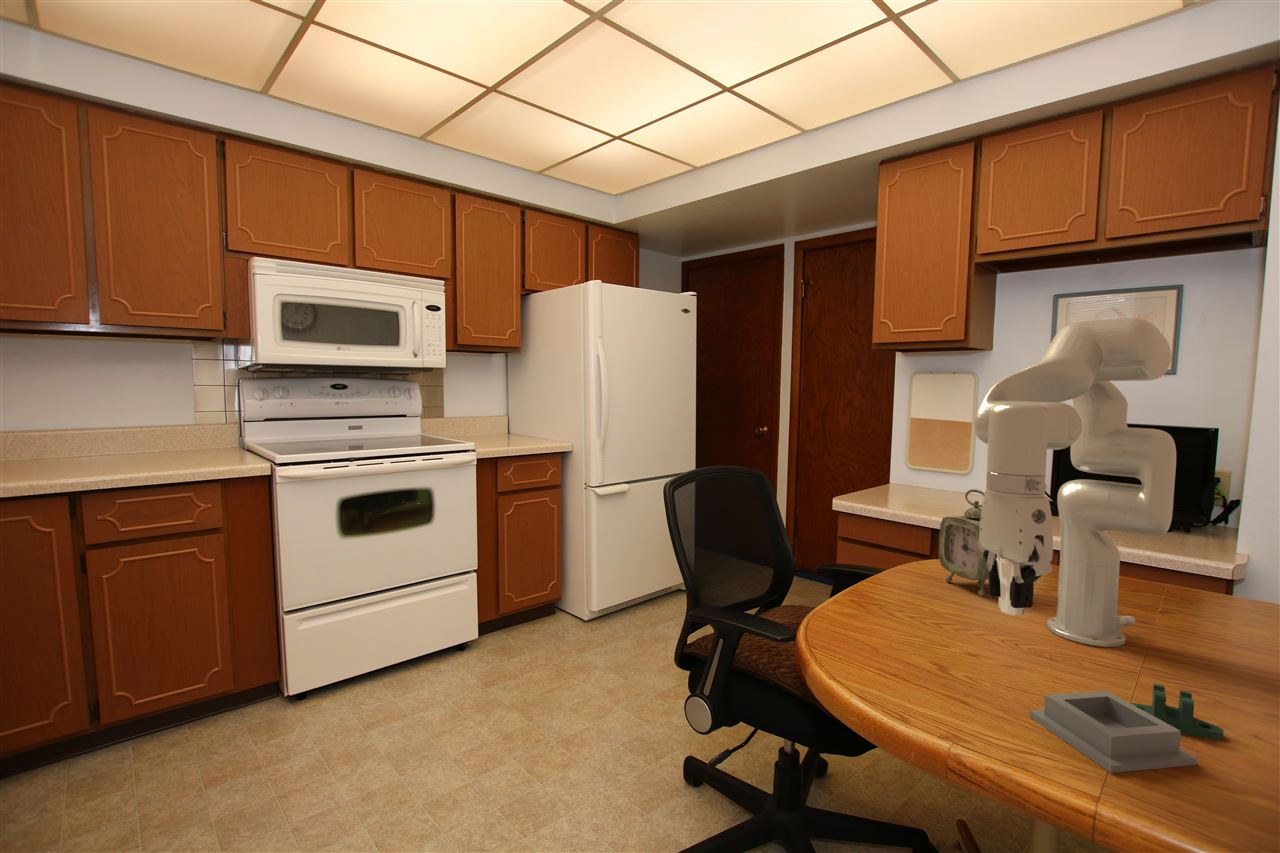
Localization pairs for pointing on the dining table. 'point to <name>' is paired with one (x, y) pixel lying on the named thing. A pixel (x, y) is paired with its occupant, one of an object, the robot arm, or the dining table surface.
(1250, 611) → the dining table surface
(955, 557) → the tabletop clock
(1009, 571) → the milkshake
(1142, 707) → the mount
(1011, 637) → the dining table surface
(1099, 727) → the socket
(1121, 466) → the robot arm
